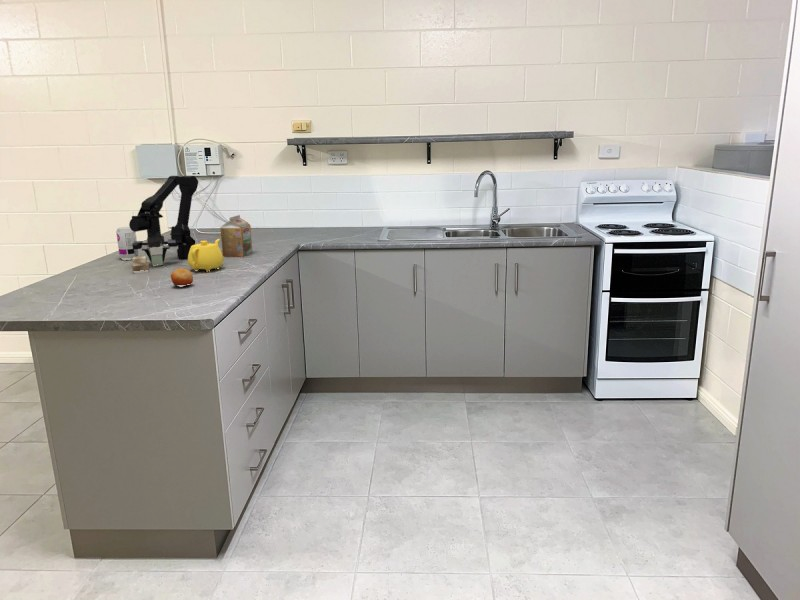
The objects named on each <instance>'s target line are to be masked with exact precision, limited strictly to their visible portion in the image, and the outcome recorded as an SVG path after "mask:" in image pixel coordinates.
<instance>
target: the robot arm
mask: <svg viewBox="0 0 800 600" xmlns="http://www.w3.org/2000/svg"><path fill="white" fill-rule="evenodd" d="M198 185H199V179H198V178H197V176H195V175H182V176H179V175H170V176H168V177H167V179H166V181H165V182H164V183H163V184H162V185H161V186H160V187H159V188H158V190H157V191H156V192H155V193H154V194H153V195H151V196H149V197H147V198H145V200H143V201H142V203H141V204H140V205H141V206H140V208H139V210H138V213H137V215H131V219H130V220H129V223H128V224H129V225H128V227H130V229H131V230H132V231H134V232H135V233H136V232H142V231H146V235H147V237H146V240H147V241H146V242H143V240H136V241H134V243H133V244H132V246H133V249H138V250H141V251H142V252H144V253H145V254H146V255H147V257H148V259H149V261H150V264H152V260H151V256H152V253H151V248H160V247H161V246H162V255H163V256H162V260H163V263H164V262H165V257H166V255H167V251H168V250H170V248H177V249H176V253H177V255H176V256H177V258H178V260H179V259H181V260H188V254H189V251H190V248H191V246H192V245H196V240H195V239H194V238H193V237H192V236H191V229H190V227H189V220H190V213H191V207H192V200H193V195H194V194H195V193H196V191H197V189H198V187H199V186H198ZM177 187H178V188H179V191H180V201H179V207H178V215H177V222H176V225H174V226H171V227H170V228H171V229H170V233H169V236H170V239H169V238H168V239H167V240H166V241H165V236H164V235H162V232H161V224H160V223H161V222H160V218H161V219H162V218H164V216H163V215H162V214H161V213H160V212H161V209H162V208H163V205H164V202H165V200H166V199H167V198H168V197H169V196H170V194H171V193H173V191H174V190H175V189H176V188H177Z"/></svg>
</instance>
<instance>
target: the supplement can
mask: <svg viewBox="0 0 800 600" xmlns="http://www.w3.org/2000/svg"><path fill="white" fill-rule="evenodd" d="M115 233H116V234H115V235H116V239H117V245H118V247H117V248H118V254H119V258H120V257H121V258H133V257H140V256H139V249H133V246H132V244H133V243H134V241H137V234H136V232H134V231H132V230H131V229H130V226H124V227H117V228H116V232H115Z"/></svg>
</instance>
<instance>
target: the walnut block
mask: <svg viewBox="0 0 800 600" xmlns="http://www.w3.org/2000/svg"><path fill="white" fill-rule="evenodd" d="M149 269H150V263H149V262H147V264H146V265H141V266H133V265H132V272H133V271H140V270H144V271H145V270H149ZM149 271H150V270H149Z"/></svg>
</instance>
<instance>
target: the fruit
mask: <svg viewBox="0 0 800 600" xmlns="http://www.w3.org/2000/svg"><path fill="white" fill-rule="evenodd" d="M170 279H171V281H172V284H173V286H174V285H187V284H191V283H192V284H193V282H194V276H193V272H192V271H190V270H189V269H186V268H184V267H180V268H177V269H175V270H173V271H172V273H171V274H170ZM192 284H191V285H192Z"/></svg>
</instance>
